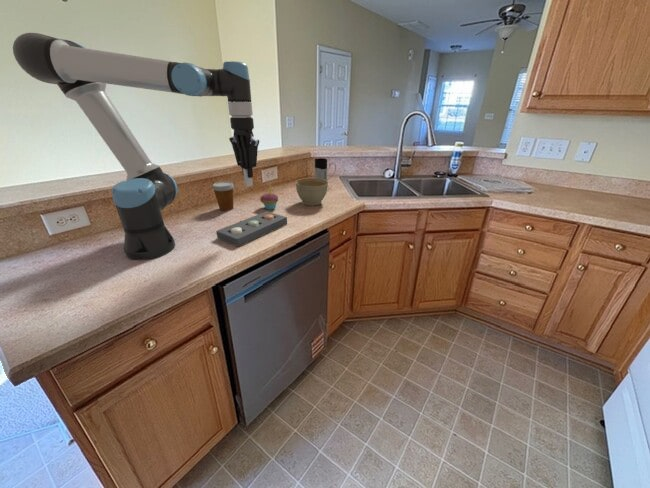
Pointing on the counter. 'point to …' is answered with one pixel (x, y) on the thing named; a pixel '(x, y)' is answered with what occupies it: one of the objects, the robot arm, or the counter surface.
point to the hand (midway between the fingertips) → (249, 185)
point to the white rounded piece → (236, 230)
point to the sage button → (253, 223)
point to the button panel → (251, 229)
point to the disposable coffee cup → (224, 195)
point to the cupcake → (269, 200)
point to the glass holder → (322, 168)
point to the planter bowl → (311, 190)
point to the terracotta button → (268, 216)
